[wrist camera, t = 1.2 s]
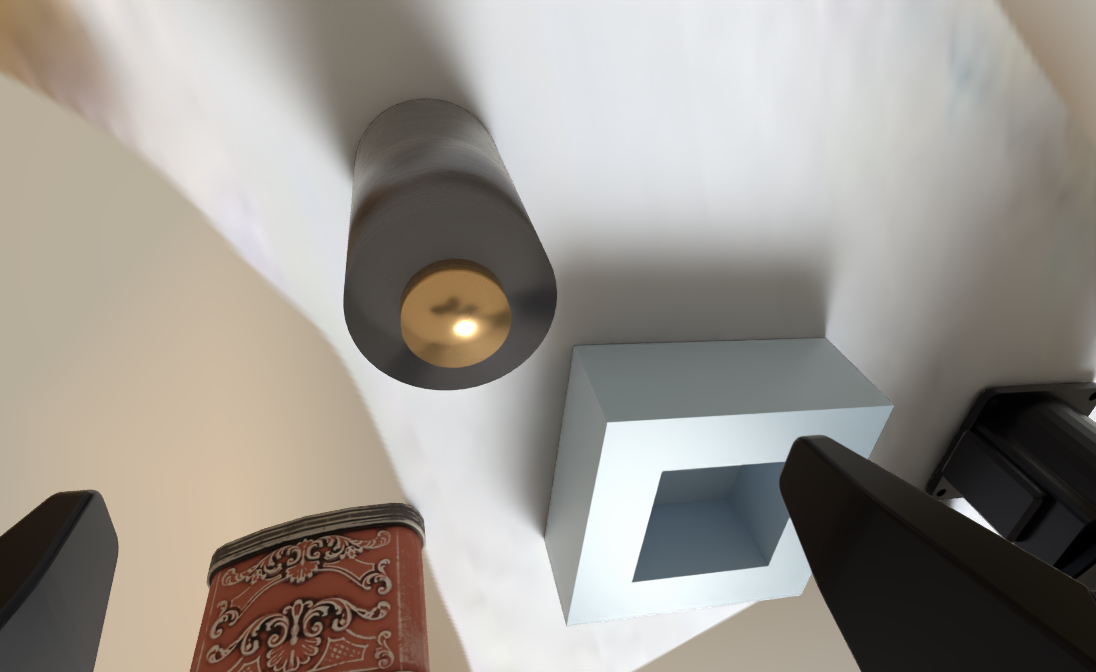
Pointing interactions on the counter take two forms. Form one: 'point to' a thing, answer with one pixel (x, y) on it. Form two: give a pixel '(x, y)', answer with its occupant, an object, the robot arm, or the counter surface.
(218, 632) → the red decorated tea tin
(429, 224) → the cell
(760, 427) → the box
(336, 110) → the counter surface
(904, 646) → the robot arm
